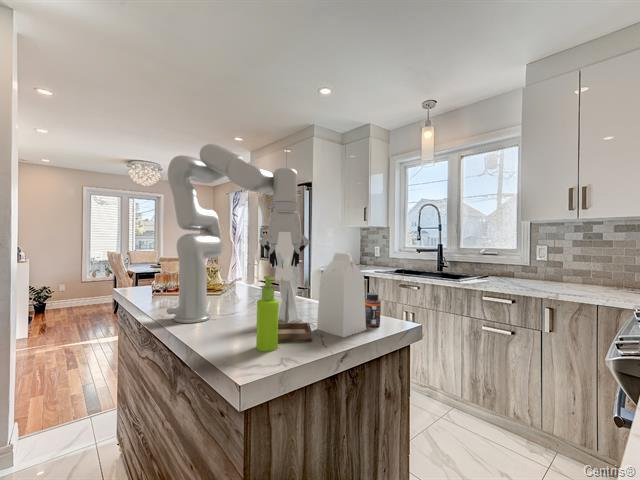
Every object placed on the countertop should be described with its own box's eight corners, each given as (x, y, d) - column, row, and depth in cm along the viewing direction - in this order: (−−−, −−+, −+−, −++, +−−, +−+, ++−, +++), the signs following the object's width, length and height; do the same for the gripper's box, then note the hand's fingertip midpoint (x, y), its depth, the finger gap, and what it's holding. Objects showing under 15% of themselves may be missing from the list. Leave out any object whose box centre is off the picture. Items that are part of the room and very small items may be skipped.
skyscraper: (271, 320, 117) (273, 245, 117) (287, 317, 124) (289, 244, 123) (287, 325, 112) (288, 245, 112) (303, 321, 118) (304, 245, 118)
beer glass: (291, 281, 95) (292, 231, 95) (269, 281, 97) (270, 231, 97) (298, 279, 102) (298, 232, 102) (277, 278, 103) (278, 232, 103)
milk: (365, 330, 108) (367, 253, 107) (343, 337, 99) (344, 254, 99) (339, 323, 116) (340, 252, 116) (316, 329, 108) (318, 252, 108)
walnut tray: (271, 342, 93) (271, 333, 93) (272, 330, 105) (272, 322, 105) (311, 341, 95) (312, 333, 95) (308, 330, 107) (309, 322, 107)
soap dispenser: (259, 354, 84) (261, 278, 84) (254, 345, 90) (255, 275, 90) (281, 351, 86) (282, 277, 86) (274, 343, 93) (275, 274, 92)
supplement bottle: (378, 328, 110) (379, 295, 110) (361, 326, 112) (362, 294, 112) (381, 324, 116) (382, 293, 116) (365, 322, 118) (365, 291, 118)
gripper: (255, 207, 95) (255, 267, 95) (313, 208, 96) (313, 267, 96) (258, 209, 102) (257, 265, 102) (311, 210, 104) (311, 265, 104)
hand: (284, 265), depth 99 cm, fingers closed on beer glass, 6 cm apart
